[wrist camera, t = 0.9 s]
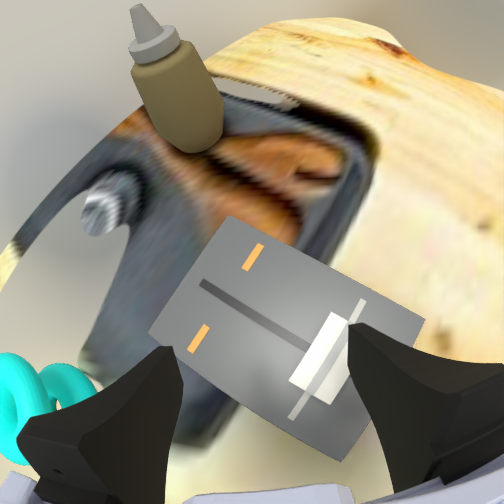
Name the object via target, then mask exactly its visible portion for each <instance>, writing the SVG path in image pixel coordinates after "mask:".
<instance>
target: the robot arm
mask: <svg viewBox="0 0 504 504" xmlns="http://www.w3.org/2000/svg"><path fill="white" fill-rule="evenodd" d="M347 366H348V369H349V372H350V375H351V378H352V381H353V384H354V386H355V388H356V390H357V392H358V394H359V396H360V398H361V400H362V402H363V404H364V405H365V407H366V409H367V411H368V413H369V415H370V417H371V419H372V421H373V423H374V426H375V428H376V431H377V434H378V436H379V439H380V442H381V445H382V448H383V452H384V455H385V458H386V462H387V465H388V469H389V473H390V477H391V481H392V485H393V490H394V494H392V495H389V496H386V497H383V498H379V499H376V500H373V501H369V502H365V503H362V504H504V365H503V364H502V363H471V362H462V361H456V360H451V359H446V358H442V357H438V356H434V355H431V354H428V353H425V352H422V351H419V350H417V349H414V348H412V347H410V346H407V345H405V344H403V343H401V342H399V341H397V340H395V339H393V338H391V337H389V336H387V335H385V334H384V333H382V332H380V331H378V330H376V329H374V328H373V327H371V326H369V325H367V324H365V323H363V322H361V323H356V324H350V325H348V356H347ZM183 386H184V384H183V380H182V377H181V374H180V371H179V367H178V364H177V360H176V357H175V353H174V350H173V346H159V347H157V348H156V349H155V350H153V351H152V352H151V353H150V354H149V355H147V356H146V357H145V358H144V359H143V360H142V361H140V362H139V363H138V364H137V365H136V366H135V367H133V368H132V369H131V370H130V371H128V372H127V373H126V374H125V375H123V376H122V377H121V378H119V379H118V380H117V381H115V382H114V383H113V384H111V385H110V386H108V387H107V388H105V389H103V390H102V391H100V392H98V393H97V394H95V395H93V396H91V397H89V398H87V399H85V400H83V401H81V402H78V403H76V404H74V405H71V406H69V407H66V408H63V409H60V410H57V411H54V412H50V413H46V414H42V415H37V416H33V417H30V418H29V419H28V421H27V422H26V424H25V425H24V427H23V428H22V430H21V431H20V433H19V434H18V436H17V437H16V443H17V446H18V448H19V450H20V452H21V453H22V455H23V456H24V458H25V459H26V460H27V461H28V463H29V464H30V465H31V466H32V467H33V469H34V470H35V471H36V472H37V473H38V474H39V476H40V479H39V481H38V483H37V482H36V481H34V480H33V479H31V478H29V477H27V476H24V475H22V474H19V473H16V472H14V471H10V473H9V474H8V476H7V478H6V479H5V481H4V483H3V484H2V486H1V488H0V504H165V485H166V473H167V464H168V456H169V450H170V445H171V441H172V437H173V433H174V430H175V426H176V422H177V419H178V415H179V411H180V407H181V403H182V395H183ZM183 504H356V503H355V500H354V497H353V494H352V491H351V489H350V487H346V486H342V485H338V484H335V483H325V484H311V485H305V486H299V487H291V488H284V489H275V490H264V491H252V492H232V493H210V494H202V495H196V496H194V497H192V498H190V499H188V500H187V501H185V502H183Z"/></svg>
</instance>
